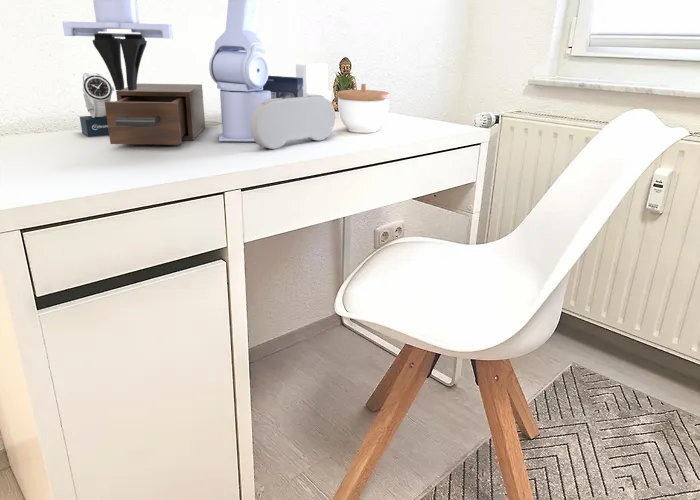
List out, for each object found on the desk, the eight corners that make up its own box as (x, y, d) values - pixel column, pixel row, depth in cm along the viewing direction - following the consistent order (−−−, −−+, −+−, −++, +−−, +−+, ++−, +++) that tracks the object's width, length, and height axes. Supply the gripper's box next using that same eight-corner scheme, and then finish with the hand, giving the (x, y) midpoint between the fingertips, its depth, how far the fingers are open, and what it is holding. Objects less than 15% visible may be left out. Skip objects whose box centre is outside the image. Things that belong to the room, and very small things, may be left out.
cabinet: (193, 140, 100) (189, 92, 97) (122, 140, 99) (115, 90, 96) (205, 127, 114) (202, 84, 110) (142, 126, 112) (137, 83, 109)
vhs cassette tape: (228, 119, 124) (225, 73, 120) (236, 118, 127) (233, 73, 123) (297, 127, 117) (296, 78, 113) (304, 125, 119) (304, 77, 116)
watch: (90, 138, 100) (81, 75, 96) (79, 131, 106) (70, 72, 101) (122, 135, 103) (114, 74, 99) (110, 129, 109) (102, 71, 105)
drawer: (175, 150, 88) (171, 106, 85) (101, 149, 87) (95, 105, 84) (194, 130, 104) (191, 94, 102) (132, 130, 103) (127, 93, 101)
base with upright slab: (317, 120, 126) (317, 65, 121) (285, 117, 130) (284, 63, 125) (337, 116, 133) (338, 64, 128) (307, 113, 137) (307, 62, 133)
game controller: (326, 136, 107) (327, 92, 104) (335, 138, 106) (336, 93, 103) (249, 150, 93) (247, 100, 90) (258, 152, 92) (256, 101, 89)
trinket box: (328, 132, 112) (329, 84, 108) (348, 124, 121) (349, 80, 118) (378, 136, 108) (380, 87, 105) (394, 129, 117) (396, 83, 114)
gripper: (47, -16, 72) (64, 91, 77) (160, -12, 73) (170, 93, 78) (67, -12, 78) (82, 86, 83) (171, -9, 80) (180, 88, 85)
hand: (126, 89), depth 81 cm, fingers closed
